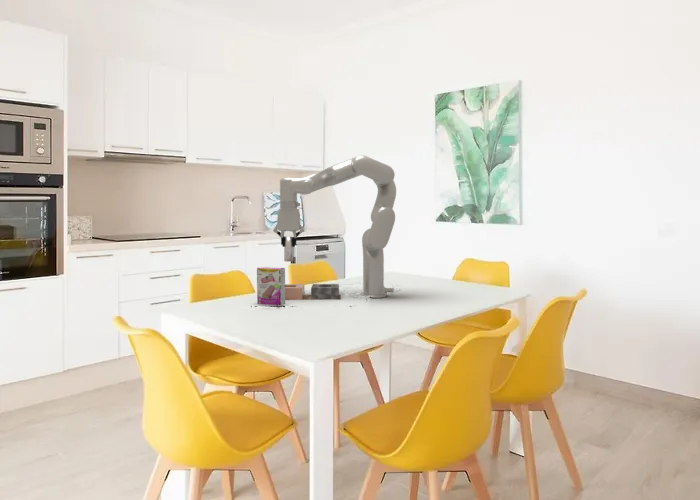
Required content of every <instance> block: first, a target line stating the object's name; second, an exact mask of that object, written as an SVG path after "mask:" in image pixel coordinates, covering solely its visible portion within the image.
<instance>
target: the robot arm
mask: <svg viewBox="0 0 700 500" xmlns="http://www.w3.org/2000/svg"><path fill="white" fill-rule="evenodd" d="M395 175H396V174H395V170H394V168H393V167H392V166H390V165H388V164H385V163H383V162H380V161H379V160H376V159H375V158H374V159H373V158H371V157H370V156H367V155H362V154H359V155H357V156H355V157H352V158H349V159H346V160H344V161H342V162H339V163H336V164H333V165H331V166H328V167H326V168H325V169H323V170H321V171H319V172H316V173H314V174H310V175H309V176H305V177H299V178H297V177H296V178H294V177H282V178H281V179H280V180H279V208H278V211H277V219H276V225H275V226H274V227H273V230H272V231H273V232H274V233H275V234H276V235H278V236H279V238H280V245H281V246H282V248H284V237H285V233H286V232H292V235H293V236H292V237H293V248H295V247H296V246H297V238H298V237H299V235H300V234H302V233H304V231H305V229H304V228H303V226H302V224H301V214H300V209H299V208H298V207H301V203H300V202H298V194H300V195H305V196H307V195H310V194H311V193H314V192H316V191H319V190H322V189H324V188H328V187H333V186H336V185H339V184H341V183H342V184H343V183H344V182H346V181H349V180H352V179H355V178H357V177H360V176H363V177H365V178H368V179H370V180H372V181H373V183H374V184H375V185H376V187H377V195H376V198H375V202H374V204H373V207H372V209H371V213H370V220H371V223H372V224H371V227H370V228H367V229H366V230H365V231H364V232H363V234H362V237H361V238H362V239H361V244H362V245H361V246H362V257H363V258H362V274H363V275H362V280H363V282H362V286H363V287H362V288H363V290H362V292H360V293H359V295H360V296H364V297H369V299H381V298H386V297H387V296H388V293H394V291H395V289H394V288H393V287H385V282H384V279H385V271H384V269H385V267H384V266H385V265H384V264H385V259H384V256H385V255H384V254H385V253H384V248H386V247H387V245H388V243H389V240H390V237H391V235H392V232H393V229H394V225H395V221H396V213H395V211H394V209H393V208H394V206H395V201H396V197H397V186H396V183H395V180H394V179H395Z"/></svg>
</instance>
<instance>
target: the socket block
mask: <svg viewBox="0 0 700 500" xmlns="http://www.w3.org/2000/svg"><path fill="white" fill-rule="evenodd" d="M304 295H305V283H295V284H294V283H289V284H287V283H285V299H303V297H304Z"/></svg>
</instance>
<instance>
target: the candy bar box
mask: <svg viewBox="0 0 700 500" xmlns="http://www.w3.org/2000/svg"><path fill="white" fill-rule="evenodd" d="M256 281H257V282H256V287H257V288H256V289H257V290H256V291H257V292H256V293H257V305H266V306H267V307H269V308H282V307H283V308H284V305H285V304H286V300H285V284H286V267H278V266H277V267H273V266H259V267H257V268H256Z"/></svg>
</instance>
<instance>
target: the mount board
mask: <svg viewBox="0 0 700 500" xmlns="http://www.w3.org/2000/svg"><path fill="white" fill-rule="evenodd" d="M341 299H342V294H341V293H340V284H339V283H313V284H312V285H311V287H310V294H309V293H308V294H305V295H304V297H303V299H285V301H289V300H290V301H295V300H296V301H298V300H299V301H303V300H305V301H307V300H308V301H314V300H315V301H316V300H317V301H318V300H320V301H321V300H322V301H323V300H324V301H325V300H327V301H328V300H330V301H332V300H336V301H338V300H339V301H340V300H341Z"/></svg>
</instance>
